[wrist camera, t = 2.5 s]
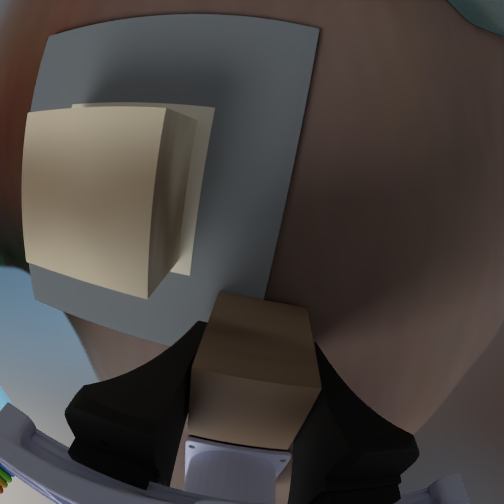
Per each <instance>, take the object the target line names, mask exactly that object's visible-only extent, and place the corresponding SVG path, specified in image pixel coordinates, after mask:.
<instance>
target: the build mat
mask: <svg viewBox="0 0 504 504" xmlns="http://www.w3.org/2000/svg"><path fill="white" fill-rule="evenodd" d="M318 35H319V29H318V28H314V27H309V26H305V25H300V24H295V23H290V22H284V21H278V20H271V19H264V18H256V17H247V16H236V15H219V14H172V15H156V16H145V17H136V18H128V19H122V20H115V21H109V22H104V23H99V24H94V25H89V26H85V27H81V28H77V29H73V30H69V31H66V32H62V33H59V34H55V35H52V36H49V38H48V41H47V44H46V48H45V51H44V54H43V58H42V61H41V65H40V69H39V73H38V77H37V81H36V86H35V90H34V95H33V101H32V106H31V112H36V111H45V110H55V109H66V108H81V107H112V106H128V107H159V108H168V109H170V110H173V111H176V112H178V113H181V114H183V115H186V116H188V117H191V118H193V119H196V120H198V121H197V126H196V132H195V137H194V143H193V149H192V155H191V161H190V168H189V174H188V181H187V188H186V196H185V203H184V211H183V219H182V228H181V237H180V247H179V257H178V262H177V263H176V264H175V265H174V267H173V268H172V269H171V270H170V272H169V273H168V274H167V275H166V277H165V278H164V279H163V280H162V282H161V283H160V284H159V285H158V287H157V288H156V289H155V290H154V292H153V293H152V294H151V296H150V297H149V298H148V299H144V298H140V297H136V296H133V295H129V294H125V293H122V292H118V291H115V290H111V289H108V288H104V287H101V286H98V285H94V284H91V283H88V282H85V281H82V280H78V279H75V278H72V277H69V276H66V275H63V274H60V273H57V272H54V271H51V270H48V269H45V268H43V267H40V266H37V265H34V264H31V263H29V267H30V274H31V280H32V286H33V292H34V296H35V299H36V300H38V301H40V302H42V303H45V304H47V305H49V306H52V307H54V308H57V309H59V310H61V311H64V312H66V313H69V314H72V315H74V316H77V317H79V318H82V319H85V320H88V321H90V322H93V323H96V324H99V325H102V326H105V327H107V328H110V329H113V330H116V331H120V332H123V333H126V334H129V335H132V336H136V337H139V338H142V339H146V340H149V341H153V342H156V343H160V344H163V345H167V346H172V345H173V344H174V343H175V342H176V341H178V340H179V339H180V338H181V337H182V336H183V335H184V334H185V333H186V332H187V331H188V330H189V329H190V328H191V327H192V326H193V325H194V324H195V323H196V322H197V321H203V322H208V320H209V317H210V315H211V312H212V309H213V306H214V304H215V301H216V298H217V296H218V293H219V291H221V292H226V293H231V294H235V295H240V296H246V297H251V298H256V299H261V300H264V296H265V292H266V287H267V283H268V279H269V275H270V270H271V266H272V262H273V257H274V253H275V248H276V244H277V240H278V235H279V231H280V226H281V222H282V217H283V212H284V208H285V203H286V199H287V194H288V189H289V185H290V180H291V175H292V170H293V165H294V161H295V156H296V151H297V146H298V141H299V136H300V131H301V126H302V121H303V116H304V111H305V106H306V100H307V95H308V90H309V85H310V79H311V74H312V68H313V63H314V57H315V52H316V46H317V40H318Z"/></svg>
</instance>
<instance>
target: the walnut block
mask: <svg viewBox="0 0 504 504" xmlns="http://www.w3.org/2000/svg"><path fill="white" fill-rule="evenodd" d="M321 389H322V387H321V381H320V375H319V369H318V363H317V358H316V352H315V347H314V342H313V336H312V331H311V326H310V321H309V316H308V311H307V308H305V307H300V306H294V305H288V304H283V303H277V302H272V301H266V300H261V299H256V298H251V297H246V296H240V295H235V294H231V293H226V292H221V291H219V293H218V296H217V298H216V301H215V304H214V306H213V309H212V312H211V315H210V317H209V320H208V323H207V326H206V329H205V331H204V334H203V337H202V340H201V342H200V345H199V348H198V351H197V354H196V356H195V359H194V362H193V365H192V370H191V383H190V398H189V415H188V434H191V435H195V436H199V437H204V438H208V439H213V440H218V441H224V442H229V443H235V444H242V445H249V446H256V447H264V448H274V449H285V450H288V448H289V446H290V445H291V443H292V441H293V440H294V438H295V436H296V435H297V433H298V431H299V430H300V428H301V426H302V424H303V423H304V421H305V419H306V417H307V415H308V414H309V412H310V410H311V408H312V406H313V404H314V403H315V401H316V399H317V397H318V395H319V393H320V391H321Z"/></svg>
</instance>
